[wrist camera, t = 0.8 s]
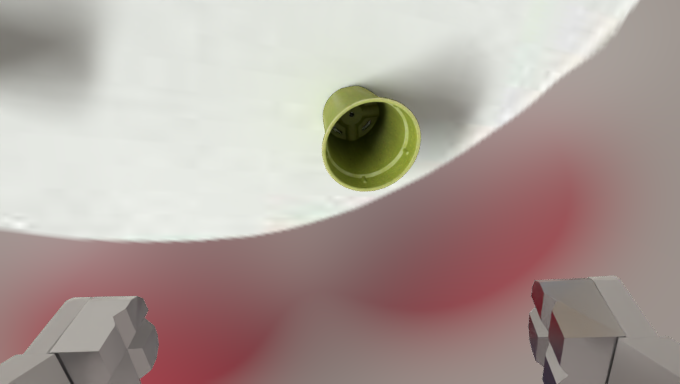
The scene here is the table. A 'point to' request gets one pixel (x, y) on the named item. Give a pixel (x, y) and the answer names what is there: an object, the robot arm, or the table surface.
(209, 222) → the table surface
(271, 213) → the table surface
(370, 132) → the plant pot
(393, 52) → the table surface
